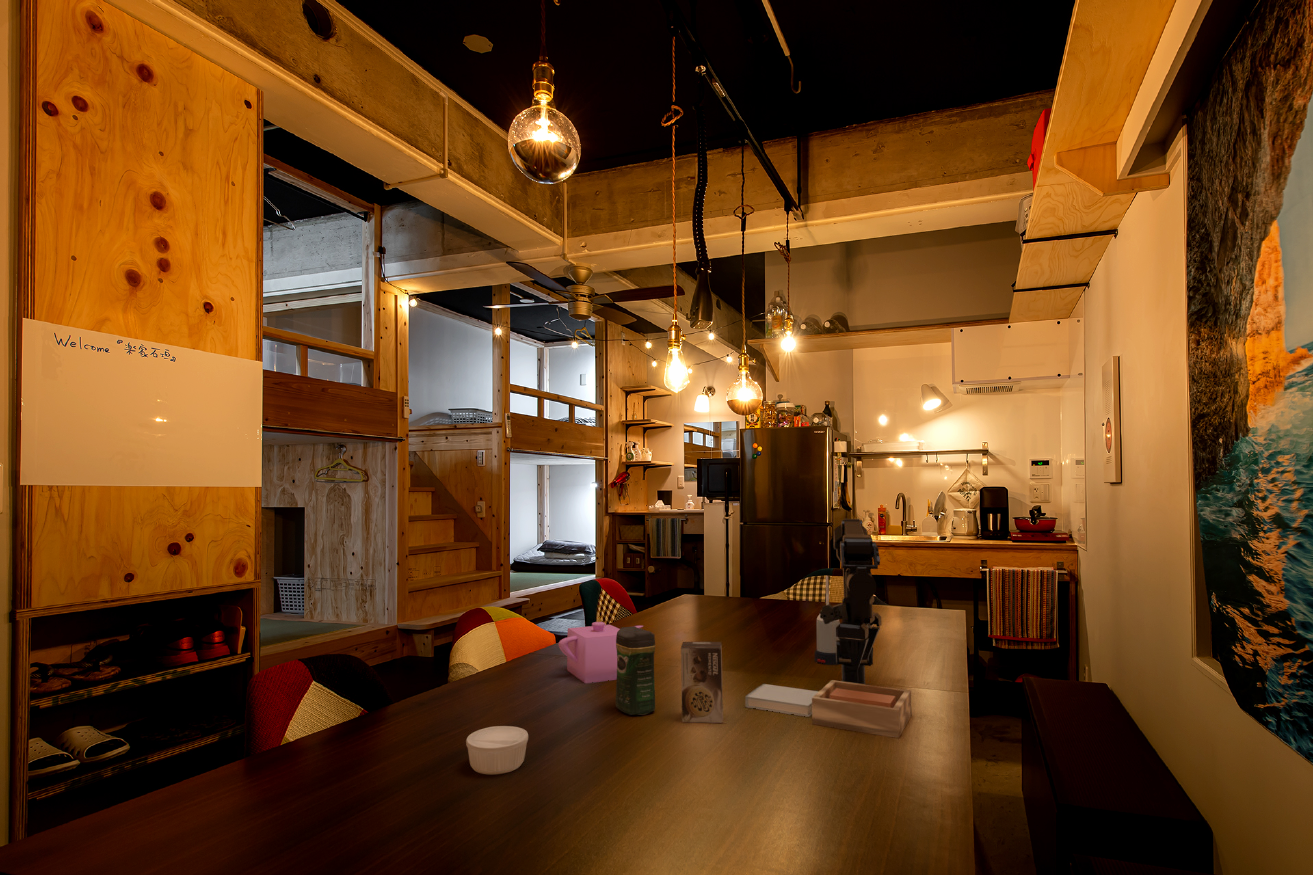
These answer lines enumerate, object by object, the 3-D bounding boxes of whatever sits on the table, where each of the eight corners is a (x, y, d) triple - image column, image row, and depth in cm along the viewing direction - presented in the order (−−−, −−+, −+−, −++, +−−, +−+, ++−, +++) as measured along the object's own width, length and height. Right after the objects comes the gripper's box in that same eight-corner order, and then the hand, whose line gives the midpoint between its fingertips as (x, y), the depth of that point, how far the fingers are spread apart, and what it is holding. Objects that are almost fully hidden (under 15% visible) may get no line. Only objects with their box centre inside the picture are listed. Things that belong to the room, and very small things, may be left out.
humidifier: (815, 664, 202) (813, 577, 204) (813, 657, 210) (812, 574, 212) (844, 665, 201) (842, 578, 203) (841, 658, 209) (839, 574, 211)
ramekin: (473, 782, 120) (473, 750, 121) (459, 760, 130) (460, 731, 131) (535, 770, 125) (536, 740, 126) (518, 750, 135) (518, 722, 136)
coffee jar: (660, 712, 158) (660, 629, 159) (630, 718, 154) (630, 633, 155) (640, 701, 166) (640, 622, 167) (610, 706, 162) (611, 625, 163)
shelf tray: (832, 703, 164) (831, 680, 165) (911, 715, 156) (911, 690, 156) (812, 724, 150) (811, 697, 150) (898, 738, 141) (898, 710, 142)
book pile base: (763, 694, 172) (763, 683, 172) (823, 702, 165) (823, 692, 165) (745, 707, 162) (745, 696, 162) (808, 717, 155) (808, 705, 155)
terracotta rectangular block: (836, 705, 159) (836, 688, 159) (895, 714, 152) (895, 696, 153) (829, 713, 153) (829, 694, 154) (890, 722, 147) (890, 703, 148)
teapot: (654, 675, 191) (654, 623, 192) (567, 685, 180) (567, 630, 181) (632, 662, 204) (632, 614, 205) (550, 672, 194) (550, 621, 195)
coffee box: (722, 714, 157) (722, 641, 158) (722, 723, 150) (722, 647, 152) (682, 713, 158) (682, 640, 159) (680, 722, 151) (680, 646, 152)
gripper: (833, 585, 168) (834, 651, 167) (811, 595, 152) (813, 668, 151) (881, 588, 163) (882, 656, 162) (863, 599, 146) (865, 675, 145)
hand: (860, 663), depth 155 cm, fingers open, 9 cm apart
